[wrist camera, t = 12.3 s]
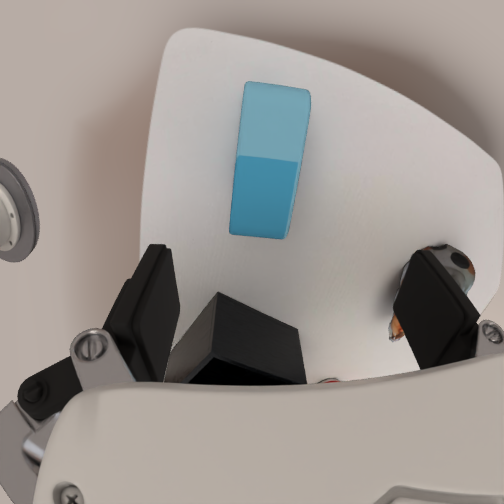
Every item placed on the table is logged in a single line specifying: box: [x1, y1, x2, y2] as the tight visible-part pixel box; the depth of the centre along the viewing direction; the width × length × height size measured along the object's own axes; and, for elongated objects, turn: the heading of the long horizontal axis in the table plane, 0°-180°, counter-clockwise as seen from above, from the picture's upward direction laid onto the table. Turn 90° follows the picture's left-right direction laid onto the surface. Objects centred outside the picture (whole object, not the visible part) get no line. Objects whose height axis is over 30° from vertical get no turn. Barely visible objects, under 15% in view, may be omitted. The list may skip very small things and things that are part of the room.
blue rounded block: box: [229, 81, 311, 239], centre depth 24 cm, size 12×4×12 cm, turn 173°
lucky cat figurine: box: [388, 244, 475, 342], centre depth 35 cm, size 15×12×14 cm
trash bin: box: [164, 292, 307, 386], centre depth 42 cm, size 15×18×11 cm
